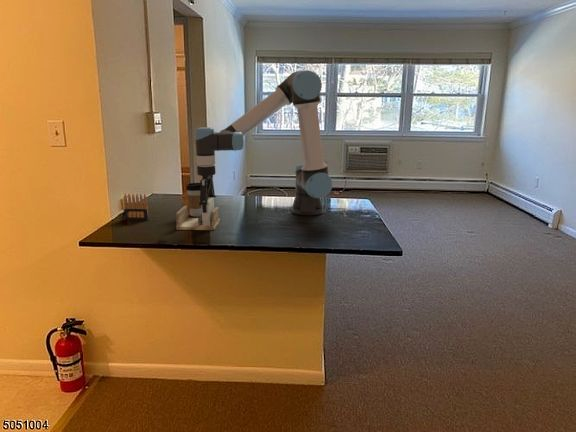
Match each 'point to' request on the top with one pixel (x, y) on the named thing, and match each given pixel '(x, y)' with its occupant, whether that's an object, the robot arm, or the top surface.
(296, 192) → the robot arm
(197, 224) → the wooden shelf with pegs
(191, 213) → the coffee cup
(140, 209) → the ammunition clip
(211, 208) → the beige rectangular block
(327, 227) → the top surface
